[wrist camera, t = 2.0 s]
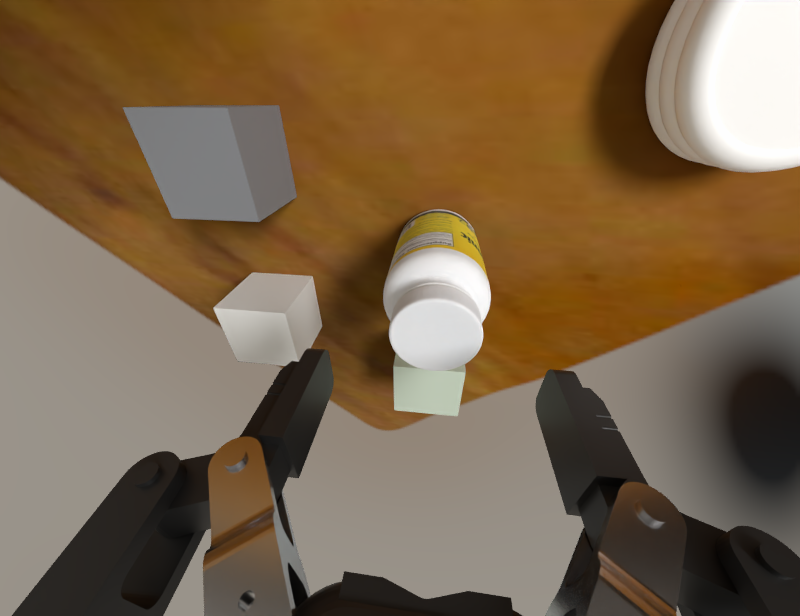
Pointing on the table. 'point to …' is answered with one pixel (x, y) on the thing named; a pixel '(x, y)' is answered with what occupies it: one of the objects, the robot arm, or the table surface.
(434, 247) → the supplement bottle
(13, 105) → the table surface
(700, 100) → the coaster
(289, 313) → the pale grey block
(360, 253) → the table surface
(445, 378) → the sage block
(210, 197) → the medium grey block
